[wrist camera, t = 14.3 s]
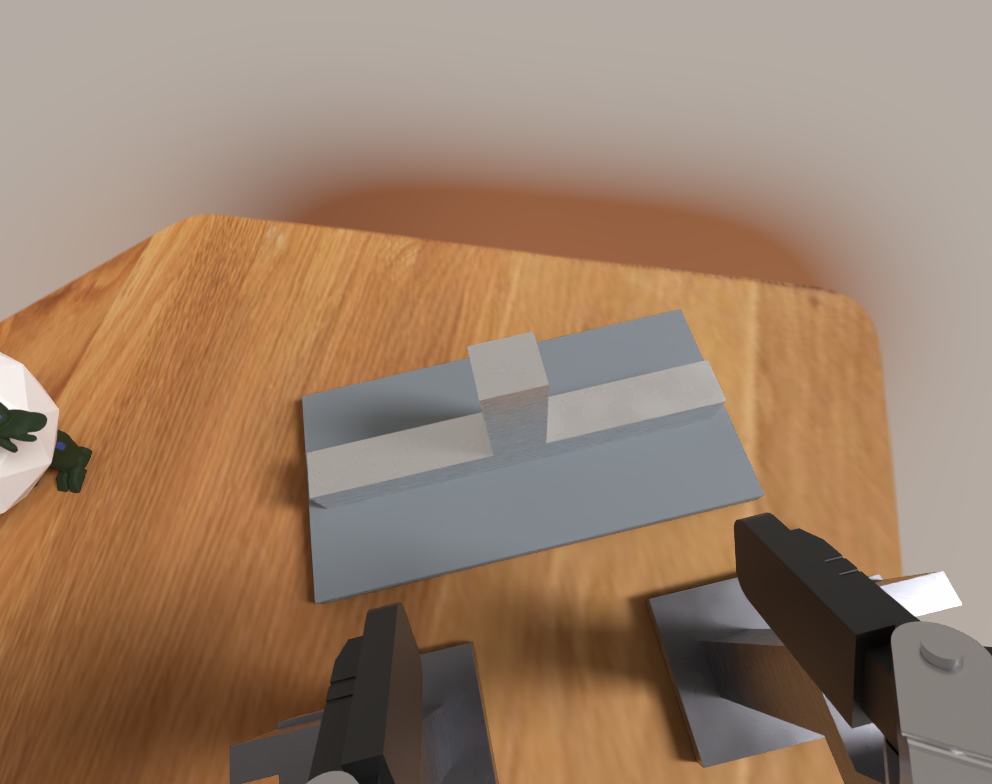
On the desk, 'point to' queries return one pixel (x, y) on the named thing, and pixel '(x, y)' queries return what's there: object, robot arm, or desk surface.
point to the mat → (517, 468)
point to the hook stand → (694, 675)
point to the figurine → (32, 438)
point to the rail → (512, 424)
